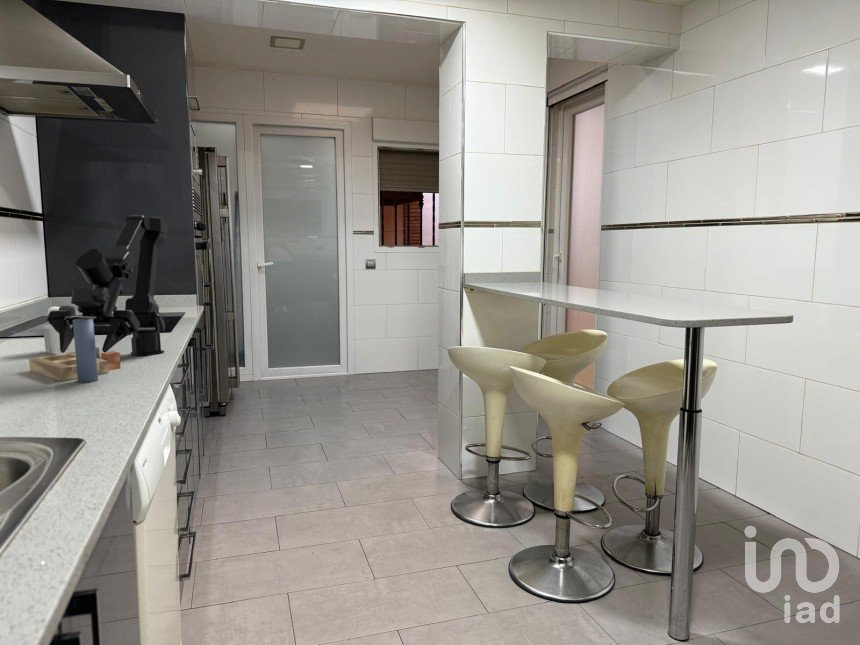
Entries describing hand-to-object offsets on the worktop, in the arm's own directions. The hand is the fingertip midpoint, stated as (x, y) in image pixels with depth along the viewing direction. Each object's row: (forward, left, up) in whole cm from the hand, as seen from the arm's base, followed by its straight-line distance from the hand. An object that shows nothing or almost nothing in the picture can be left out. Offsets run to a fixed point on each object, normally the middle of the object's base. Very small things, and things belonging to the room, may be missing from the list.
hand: (82, 351), depth 136 cm
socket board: (-5, -14, -7) cm, 16 cm away
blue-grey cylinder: (-1, -1, -7) cm, 7 cm away
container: (-14, -42, -7) cm, 45 cm away
